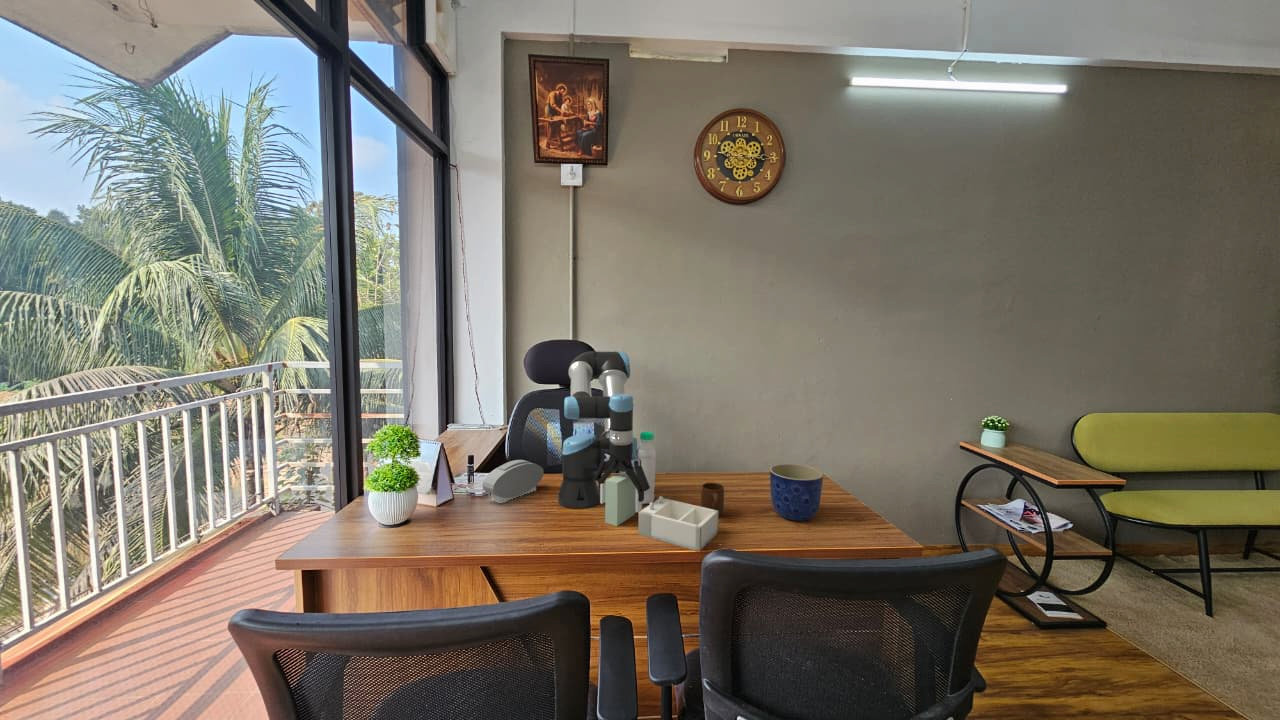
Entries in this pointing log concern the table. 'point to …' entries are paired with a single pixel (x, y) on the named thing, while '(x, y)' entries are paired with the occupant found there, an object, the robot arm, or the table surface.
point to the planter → (795, 490)
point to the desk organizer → (678, 523)
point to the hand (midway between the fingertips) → (620, 506)
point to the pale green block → (619, 499)
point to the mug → (713, 497)
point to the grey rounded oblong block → (512, 480)
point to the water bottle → (647, 464)
